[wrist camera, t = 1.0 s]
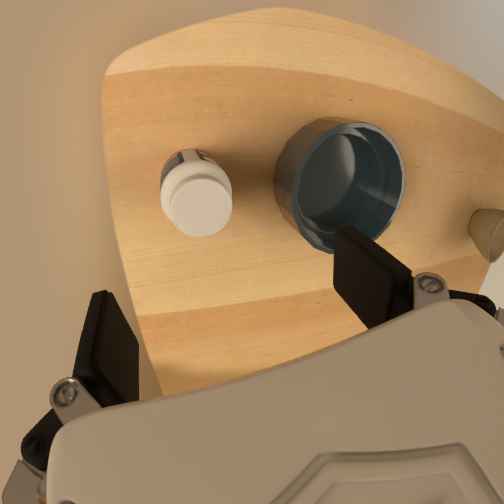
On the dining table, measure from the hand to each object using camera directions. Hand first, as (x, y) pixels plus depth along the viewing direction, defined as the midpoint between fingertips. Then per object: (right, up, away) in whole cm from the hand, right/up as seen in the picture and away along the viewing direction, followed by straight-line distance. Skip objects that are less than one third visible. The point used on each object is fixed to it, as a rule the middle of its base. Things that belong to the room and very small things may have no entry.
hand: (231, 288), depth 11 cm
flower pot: (+43, +7, +30) cm, 53 cm away
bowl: (+9, +9, +18) cm, 22 cm away
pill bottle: (-5, +8, +14) cm, 17 cm away
